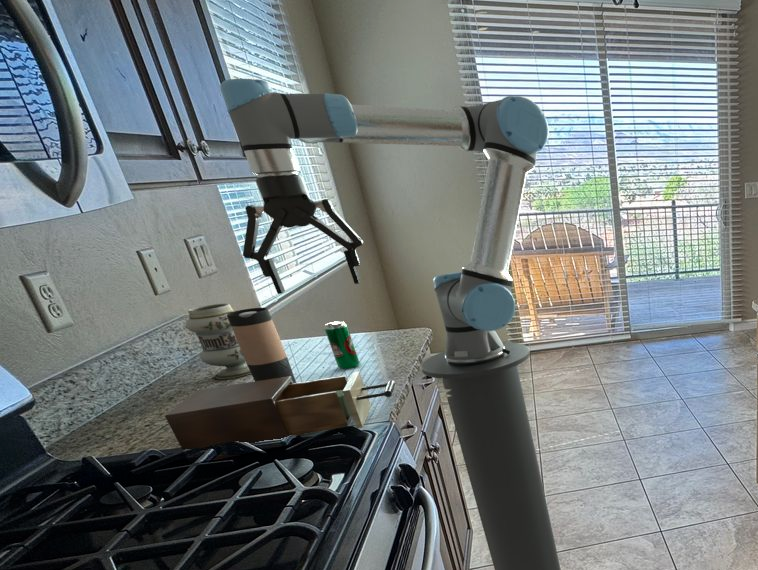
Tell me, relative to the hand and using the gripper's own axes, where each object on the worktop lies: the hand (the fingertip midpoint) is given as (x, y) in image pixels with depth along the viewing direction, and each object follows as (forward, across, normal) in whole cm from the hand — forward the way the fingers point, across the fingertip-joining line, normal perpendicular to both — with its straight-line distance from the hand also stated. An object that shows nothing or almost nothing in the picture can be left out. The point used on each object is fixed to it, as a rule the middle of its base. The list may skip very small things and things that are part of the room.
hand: (320, 287), depth 116 cm
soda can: (+26, +6, -32) cm, 42 cm away
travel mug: (+26, +19, -17) cm, 36 cm away
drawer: (+25, +2, +13) cm, 28 cm away
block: (+23, +2, +13) cm, 27 cm away
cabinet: (+25, +18, +12) cm, 33 cm away
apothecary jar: (+25, +34, -44) cm, 61 cm away
